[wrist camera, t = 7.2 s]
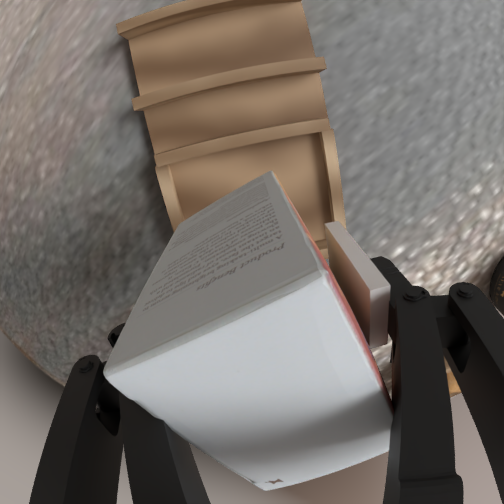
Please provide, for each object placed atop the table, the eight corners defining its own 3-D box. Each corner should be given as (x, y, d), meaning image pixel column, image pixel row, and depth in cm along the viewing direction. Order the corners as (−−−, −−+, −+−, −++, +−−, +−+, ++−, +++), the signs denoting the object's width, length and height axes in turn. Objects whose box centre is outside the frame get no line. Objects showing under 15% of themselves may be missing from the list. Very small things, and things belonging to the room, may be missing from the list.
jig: (128, 24, 20) (114, 14, 17) (293, -13, 20) (300, -28, 16) (192, 270, 31) (187, 289, 28) (341, 240, 30) (352, 255, 27)
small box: (338, 288, 17) (410, 444, 8) (254, 330, 19) (265, 495, 9) (272, 164, 14) (333, 265, 5) (175, 222, 16) (95, 378, 6)
